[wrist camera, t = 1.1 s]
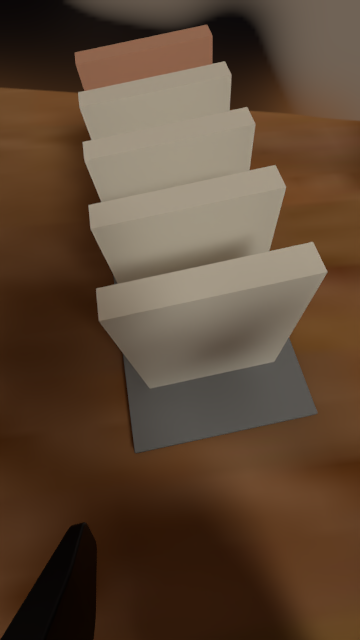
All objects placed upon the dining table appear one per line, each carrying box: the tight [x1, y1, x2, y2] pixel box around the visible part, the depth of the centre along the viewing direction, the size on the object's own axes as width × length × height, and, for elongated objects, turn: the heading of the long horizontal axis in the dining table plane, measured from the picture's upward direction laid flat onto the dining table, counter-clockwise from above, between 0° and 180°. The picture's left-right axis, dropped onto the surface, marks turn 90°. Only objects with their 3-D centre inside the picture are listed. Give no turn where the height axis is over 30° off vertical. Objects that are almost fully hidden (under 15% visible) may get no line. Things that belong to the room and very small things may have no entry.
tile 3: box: [83, 107, 255, 202], centre depth 23 cm, size 2×10×12 cm, turn 101°
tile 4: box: [78, 61, 231, 140], centre depth 25 cm, size 2×10×12 cm, turn 101°
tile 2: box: [88, 165, 286, 284], centre depth 21 cm, size 2×10×12 cm, turn 102°
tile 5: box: [75, 25, 212, 91], centre depth 27 cm, size 2×10×12 cm, turn 101°
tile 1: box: [96, 242, 327, 389], centre depth 19 cm, size 2×10×12 cm, turn 101°
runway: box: [113, 275, 317, 453], centre depth 29 cm, size 32×13×1 cm, turn 11°
